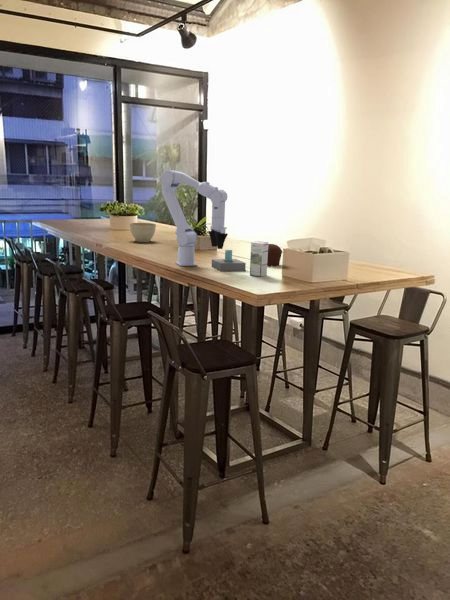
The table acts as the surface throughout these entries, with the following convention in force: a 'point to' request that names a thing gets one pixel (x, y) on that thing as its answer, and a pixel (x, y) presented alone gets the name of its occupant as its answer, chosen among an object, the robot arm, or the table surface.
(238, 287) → the table surface
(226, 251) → the pin
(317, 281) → the table surface
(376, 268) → the table surface
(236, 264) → the socket block
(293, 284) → the table surface
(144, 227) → the planter bowl
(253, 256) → the syrup box
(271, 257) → the muffin
